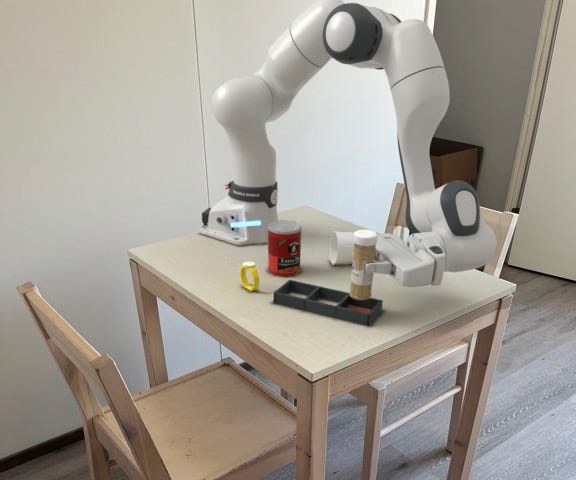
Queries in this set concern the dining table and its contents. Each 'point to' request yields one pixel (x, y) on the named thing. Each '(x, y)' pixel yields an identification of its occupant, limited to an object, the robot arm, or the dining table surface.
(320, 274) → the dining table surface
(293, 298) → the compartment tray
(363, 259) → the sprinkles bottle
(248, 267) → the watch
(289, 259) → the canned food
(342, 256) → the white cup
